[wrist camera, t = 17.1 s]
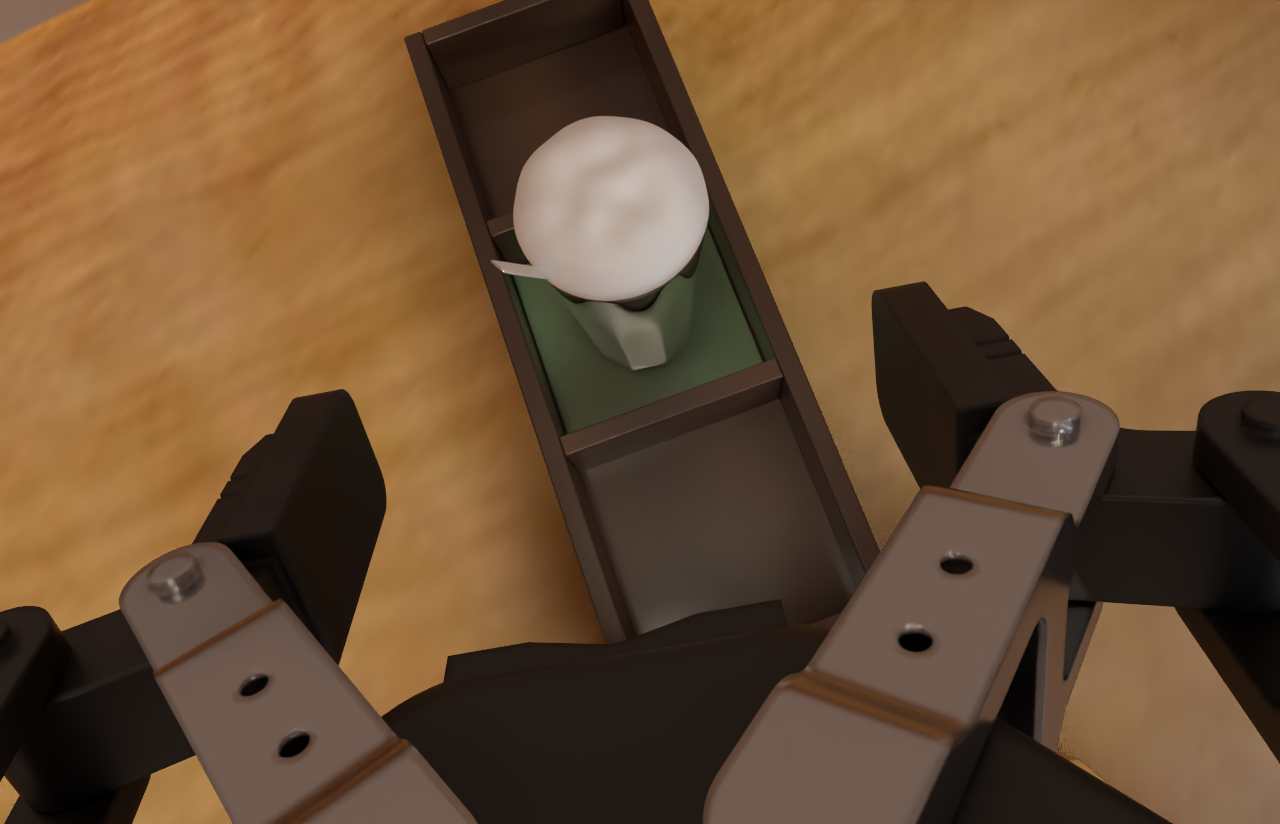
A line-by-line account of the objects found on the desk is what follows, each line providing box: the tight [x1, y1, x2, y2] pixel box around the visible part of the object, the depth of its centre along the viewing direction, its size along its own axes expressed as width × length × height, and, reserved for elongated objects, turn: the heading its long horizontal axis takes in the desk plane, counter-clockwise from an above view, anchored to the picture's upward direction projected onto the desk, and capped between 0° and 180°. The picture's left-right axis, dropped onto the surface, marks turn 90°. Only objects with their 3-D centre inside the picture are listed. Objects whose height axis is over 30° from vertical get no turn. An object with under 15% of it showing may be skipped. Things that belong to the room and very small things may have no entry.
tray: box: [404, 0, 880, 644], centre depth 29 cm, size 8×22×3 cm, turn 20°
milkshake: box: [491, 116, 709, 370], centre depth 25 cm, size 4×5×10 cm
